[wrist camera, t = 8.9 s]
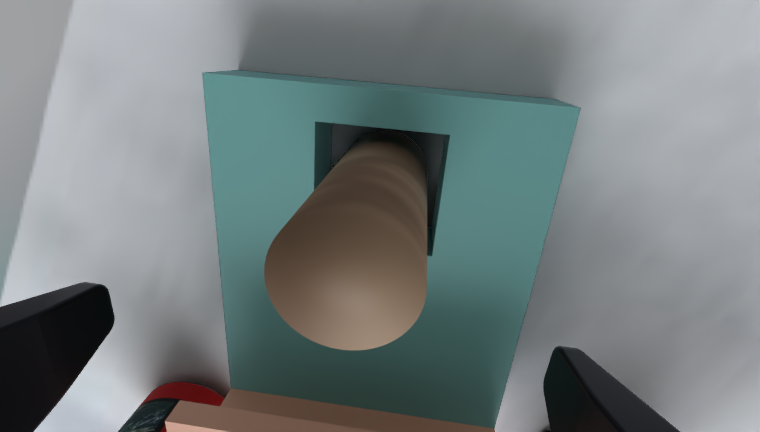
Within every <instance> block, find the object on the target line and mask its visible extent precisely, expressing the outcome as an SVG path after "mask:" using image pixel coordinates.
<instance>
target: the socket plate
mask: <svg viewBox="0 0 760 432" xmlns="http://www.w3.org/2000/svg"><path fill="white" fill-rule="evenodd" d="M202 75H203V86H204V97H205V108H206V119H207V130H208V141H209V152H210V163H211V174H212V185H213V196H214V207H215V218H216V229H217V240H218V251H219V262H220V273H221V284H222V296H223V307H224V318H225V329H226V340H227V351H228V362H229V373H230V384H231V389H230V390H229V392H228V394H227V396H226V397H225V399H224V401H223V402H222V404H221V406H213V405H207V404H201V403H194V402H188V401H182V400H180V401H179V402H178V404H177V405H176V406H175V408H174V409H173V411H172V412H171V413H170V415H169V416H168V418H167V419H166V420H165V424H166V430H167V432H495V430H494V428H495V424H496V420H497V417H498V413H499V409H500V405H501V402H502V398H503V394H504V391H505V387H506V383H507V379H508V376H509V372H510V368H511V365H512V361H513V357H514V353H515V350H516V346H517V342H518V339H519V335H520V331H521V328H522V324H523V320H524V316H525V313H526V309H527V305H528V302H529V298H530V294H531V290H532V287H533V283H534V279H535V276H536V272H537V268H538V264H539V261H540V257H541V253H542V250H543V246H544V242H545V238H546V235H547V231H548V227H549V224H550V220H551V216H552V212H553V209H554V205H555V201H556V198H557V194H558V190H559V186H560V183H561V179H562V175H563V172H564V168H565V164H566V161H567V157H568V153H569V149H570V146H571V142H572V138H573V135H574V131H575V127H576V123H577V120H578V116H579V112H580V109H581V108H580V107H577V106H574V105H571V104H568V103H565V102H562V101H559V100H556V99H548V98H537V97H526V96H515V95H504V94H493V93H482V92H471V91H460V90H449V89H438V88H428V87H417V86H406V85H395V84H384V83H373V82H362V81H351V80H340V79H329V78H319V77H308V76H297V75H286V74H275V73H264V72H253V71H242V70H232V71H219V72H206V73H202ZM332 123H336V124H346V125H356V126H366V127H376V128H386V129H396V130H406V131H416V132H426V133H436V134H445V137H444V144H443V151H442V158H441V165H440V172H439V179H438V186H437V193H436V200H435V207H434V214H433V221H432V228H427V292H426V299H425V303H424V306H423V309H422V311H421V313H420V315H419V317H418V319H417V320H416V322H415V323H414V324H413V325H412V327H411V328H410V329H409V330H408V331H407V332H405V333H404V334H403V335H402V336H400V337H399V338H397V339H396V340H394V341H392V342H390V343H388V344H386V345H383V346H380V347H377V348H372V349H367V350H340V349H335V348H330V347H327V346H324V345H321V344H318V343H316V342H314V341H311V340H310V339H308V338H306V337H304V336H303V335H301V334H300V333H298V332H297V331H295V330H294V329H293V328H292V327H291V326H290V325H288V324H287V323H286V321H285V320H284V319H283V318H282V317H281V316H280V315H279V313H278V312H277V310H276V309H275V307H274V305H273V304H272V302H271V300H270V297H269V295H268V292H267V288H266V285H265V277H264V265H265V260H266V255H267V252H268V249H269V247H270V245H271V243H272V241H273V240H274V238H275V237H276V236H277V234H278V233H279V232H280V230H281V229H282V228H283V227H284V226H285V224H286V223H287V222H288V221H289V220H290V219H291V217H292V216H293V215H294V214H295V213H296V211H297V210H298V209H299V208H300V207H301V205H302V204H303V203H304V202H305V201H306V200H307V198H308V197H309V196H310V195H311V194H312V192H313V191H314V190H315V189H316V188H317V187H318V185H319V184H320V183H321V182H322V181H323V179H324V178H325V177H326V176H327V175H328V173H329V172H330V170H331V138H332Z"/></svg>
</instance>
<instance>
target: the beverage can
mask: <svg viewBox="0 0 760 432" xmlns="http://www.w3.org/2000/svg"><path fill="white" fill-rule="evenodd" d="M224 399H225V398H224V397H223V396H222V395H221V394H219V393H218V392H216V391H214V390H213V389H211V388H208V387H206V386H202V385H198V384H193V383H187V382H173V383H168V384H164V385H162V386H159V387H158V388H156V389H155V390H153V391H152V392H151V393H150V394H149V396H148V397H147V398H146V399H145V400H144V401H143V403H142V404H141V405H140V406H139V407H138V409H137V410H136V411H135V412H134V413H133V414H132V416H131V417H130V418H129V419H128V420H127V422H126V423H125V424H124V425H123V426H122V428H121V429H120V430H119V431H118V432H167V430H166V424H165V420H166V419H167V418H168V416H169V415H170V413H171V412H172V411H173V409H174V408H175V406H176V405H177V404H178V402H179V401H180V400H182V401H188V402H194V403H201V404H207V405H213V406H221V404H222V402H223V401H224Z"/></svg>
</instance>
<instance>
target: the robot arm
mask: <svg viewBox="0 0 760 432" xmlns="http://www.w3.org/2000/svg"><path fill="white" fill-rule="evenodd" d="M114 319H115V318H114V312H113V308H112V303H111V299H110V295H109V291H108V289H107V288H106V286H104V285H102V284H96V283H88V282H83V283H79V284H75V285H72V286H69V287H65V288H62V289H59V290H55V291H52V292H49V293H45V294H42V295H39V296H36V297H32V298H29V299H26V300H22V301H19V302H16V303H12V304H9V305H6V306H2V307H0V432H34V430H35V429H36V428H37V427H38V426H39V425H40V423H41V422H42V421H43V420H44V419H45V418H46V416H47V415H48V414H49V413H50V412H51V411H52V409H53V408H54V407H55V406H56V404H57V403H58V402H59V401H60V400H61V398H62V397H63V396H64V395H65V393H66V392H67V391H68V389H69V388H70V387H71V385H72V384H73V382H74V381H75V380H76V378H77V377H78V375H79V374H80V373H81V371H82V370H83V368H84V367H85V366H86V364H87V363H88V361H89V360H90V359H91V357H92V356H93V354H94V353H95V352H96V350H97V349H98V348H99V346H100V345H101V343H102V342H103V341H104V339H105V338H106V336H107V335H108V334H109V332H110V331H111V329H112V327H113V325H114ZM543 387H544V396H545V401H546V407H547V413H548V418H549V424H550V430H551V431H546V432H680V431H679V430H677V429H676V428H675V427H674V426H672V425H671V424H670V423H669V422H668V421H666V420H665V419H664V418H663V417H662V416H660V415H659V414H658V413H657V412H655V411H654V410H653V409H652V408H651V407H649V406H648V405H647V404H646V403H644V402H643V401H642V400H641V399H640V398H638V397H637V396H636V395H635V394H634V393H632V392H631V391H630V390H629V389H627V388H626V387H625V386H624V385H623V384H621V383H620V382H619V381H618V380H617V379H615V378H614V377H613V376H612V375H610V374H609V373H608V372H607V371H606V370H604V369H603V368H602V367H601V366H599V365H598V364H597V363H596V362H595V361H593V360H592V359H591V358H590V357H589V356H587V355H586V354H585V353H584V352H582V351H581V350H579V349H577V348H570V347H562V346H558V347H556V348H555V349H554V350H553V353H552V356H551V359H550V362H549V365H548V368H547V371H546V374H545V378H544V386H543Z"/></svg>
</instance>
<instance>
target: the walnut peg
mask: <svg viewBox="0 0 760 432" xmlns="http://www.w3.org/2000/svg"><path fill="white" fill-rule="evenodd" d="M264 277H265V285H266V288H267V292H268V295H269V297H270V300H271V302H272V304H273V305H274V307H275V309H276V310H277V312H278V313H279V315H280V316H281V317H282V318H283V319H284V320H285V321H286V323H287V324H288V325H290V326H291V327H292V328H293V329H294V330H295V331H297V332H298V333H300V334H301V335H303V336H304V337H306V338H308V339H310V340H311V341H314V342H316V343H318V344H321V345H324V346H327V347H330V348H335V349H340V350H367V349H372V348H377V347H380V346H383V345H386V344H388V343H390V342H392V341H394V340H396V339H397V338H399V337H400V336H402V335H403V334H404V333H405V332H407V331H408V330H409V329H410V328H411V327H412V325H413V324H414V323H415V322H416V320H417V319H418V317H419V315H420V313H421V311H422V309H423V306H424V303H425V299H426V292H427V164H426V160H425V157H424V155H423V153H422V151H421V149H420V148H419V146H418V145H417V144H416V143H415V142H414V141H413V140H412V139H410V138H409V137H407V136H406V135H404V134H402V133H399V132H396V131H391V130H377V131H373V132H370V133H367V134H365V135H364V136H362V137H361V138H359V139H358V140H357V141H356V142H355V143H354V144H353V145H352V146H351V147H350V149H349V150H348V151H347V152H346V153H345V154H344V156H343V157H342V158H341V159H340V160H339V162H338V163H337V164H336V165H335V166H334V168H333V169H332V170H331V171H330V172H329V173H328V175H327V176H326V177H325V178H324V179H323V181H322V182H321V183H320V184H319V185H318V187H317V188H316V189H315V190H314V191H313V192H312V194H311V195H310V196H309V197H308V198H307V200H306V201H305V202H304V203H303V204H302V205H301V207H300V208H299V209H298V210H297V211H296V213H295V214H294V215H293V216H292V217H291V219H290V220H289V221H288V222H287V223H286V224H285V226H284V227H283V228H282V229H281V230H280V232H279V233H278V234H277V236H276V237H275V238H274V240H273V241H272V243H271V245H270V247H269V249H268V252H267V255H266V260H265V265H264Z"/></svg>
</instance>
